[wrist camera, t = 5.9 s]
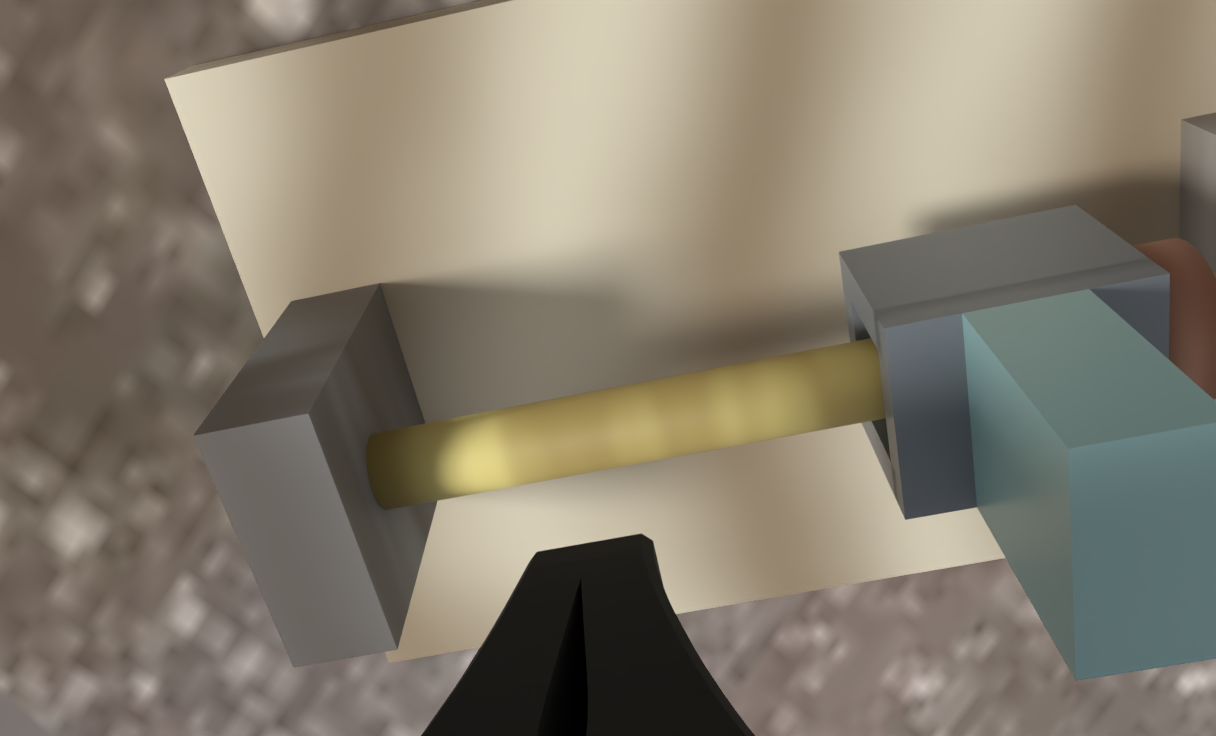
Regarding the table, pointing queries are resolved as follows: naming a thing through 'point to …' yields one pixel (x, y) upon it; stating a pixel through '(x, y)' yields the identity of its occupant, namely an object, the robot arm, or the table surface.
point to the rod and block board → (640, 279)
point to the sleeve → (1051, 424)
